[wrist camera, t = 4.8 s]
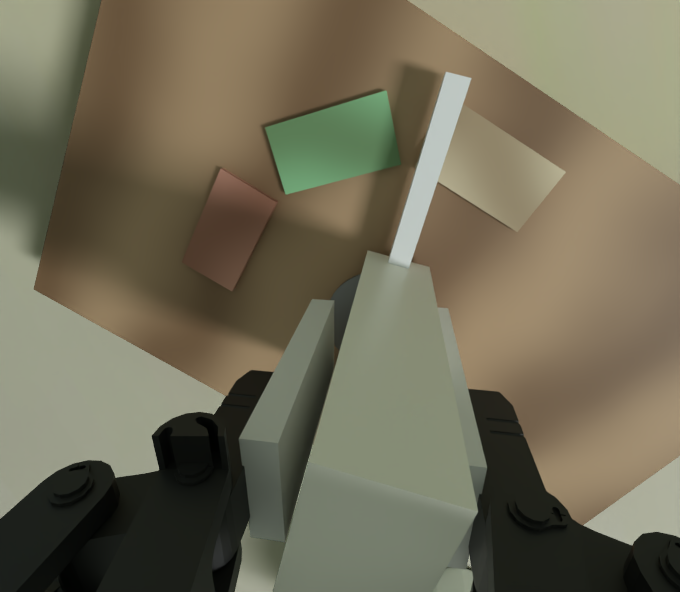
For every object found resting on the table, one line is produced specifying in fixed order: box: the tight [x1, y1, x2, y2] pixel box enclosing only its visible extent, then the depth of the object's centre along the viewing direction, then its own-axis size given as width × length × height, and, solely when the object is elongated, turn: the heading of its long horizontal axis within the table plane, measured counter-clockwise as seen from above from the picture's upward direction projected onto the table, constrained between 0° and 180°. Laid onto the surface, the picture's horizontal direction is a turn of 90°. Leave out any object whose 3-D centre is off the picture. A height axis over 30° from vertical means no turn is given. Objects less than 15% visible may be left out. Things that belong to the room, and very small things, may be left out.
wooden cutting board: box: [34, 0, 680, 525], centre depth 16 cm, size 26×16×3 cm, turn 60°
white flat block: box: [273, 72, 478, 592], centre depth 9 cm, size 2×11×10 cm, turn 167°
